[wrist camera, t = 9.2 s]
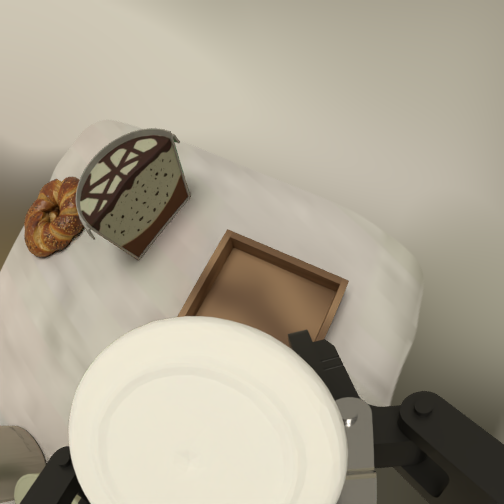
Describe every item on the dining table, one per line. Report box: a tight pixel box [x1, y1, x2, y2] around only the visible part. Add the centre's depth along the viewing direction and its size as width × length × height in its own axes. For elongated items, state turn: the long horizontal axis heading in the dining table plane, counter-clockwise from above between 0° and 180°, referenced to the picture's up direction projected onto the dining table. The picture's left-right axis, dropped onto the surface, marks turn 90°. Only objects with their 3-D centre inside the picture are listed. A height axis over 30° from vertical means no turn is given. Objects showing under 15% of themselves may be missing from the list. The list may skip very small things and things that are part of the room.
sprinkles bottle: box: [68, 316, 348, 504], centre depth 10 cm, size 5×5×14 cm
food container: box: [76, 128, 191, 260], centre depth 31 cm, size 12×6×10 cm, turn 146°
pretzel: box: [25, 177, 83, 257], centre depth 35 cm, size 12×11×4 cm
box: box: [177, 229, 349, 348], centre depth 28 cm, size 12×12×3 cm
